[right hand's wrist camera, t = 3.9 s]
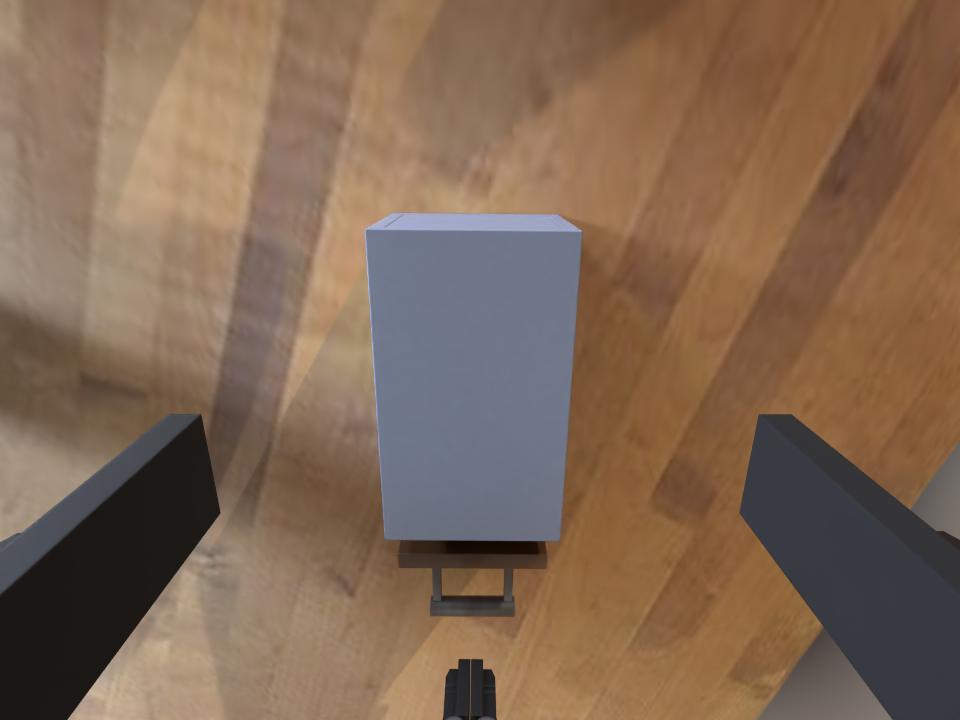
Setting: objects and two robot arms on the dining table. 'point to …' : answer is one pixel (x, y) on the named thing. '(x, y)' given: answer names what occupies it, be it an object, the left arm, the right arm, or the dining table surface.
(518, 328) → the cabinet
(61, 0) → the dining table surface
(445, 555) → the drawer
